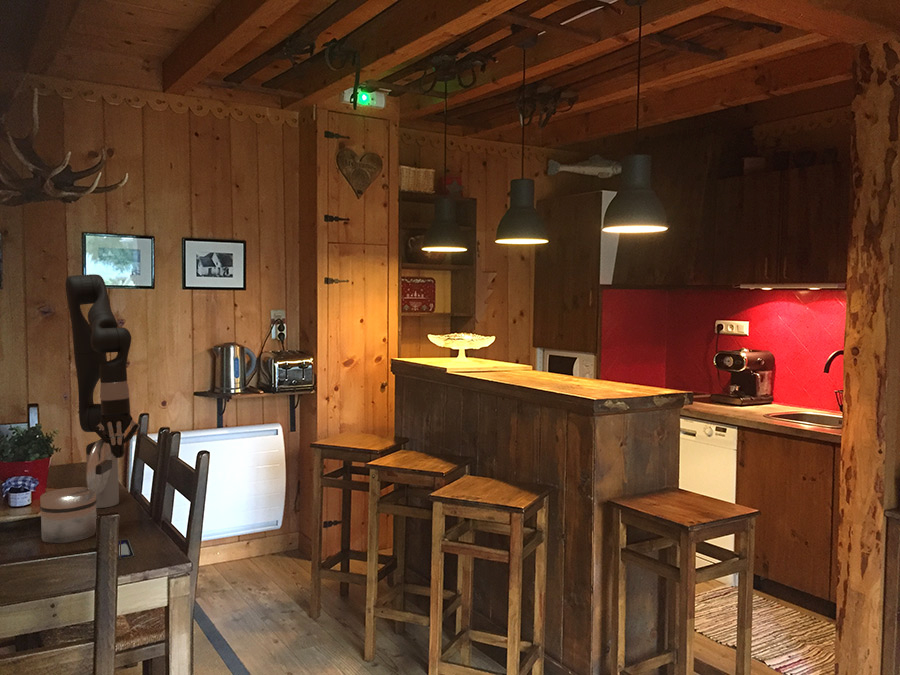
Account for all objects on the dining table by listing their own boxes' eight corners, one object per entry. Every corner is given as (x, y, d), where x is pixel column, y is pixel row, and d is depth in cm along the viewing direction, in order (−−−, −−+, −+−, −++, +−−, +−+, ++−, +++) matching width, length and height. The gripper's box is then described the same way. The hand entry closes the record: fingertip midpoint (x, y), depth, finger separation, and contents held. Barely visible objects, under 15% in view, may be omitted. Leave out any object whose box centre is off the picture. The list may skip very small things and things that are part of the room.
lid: (108, 435, 218) (117, 436, 218) (105, 486, 218) (115, 486, 218) (87, 445, 203) (97, 446, 203) (84, 499, 203) (94, 500, 203)
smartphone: (103, 561, 188) (99, 543, 201) (103, 564, 188) (99, 546, 202) (134, 555, 192) (128, 538, 205) (134, 559, 192) (128, 542, 205)
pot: (55, 528, 217) (53, 487, 217) (105, 526, 218) (104, 486, 218) (31, 544, 203) (29, 500, 202) (85, 542, 204) (84, 499, 204)
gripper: (143, 394, 216) (146, 453, 217) (96, 397, 215) (100, 456, 215) (134, 397, 209) (138, 458, 209) (85, 400, 207) (90, 461, 208)
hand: (119, 457), depth 212 cm, fingers closed
